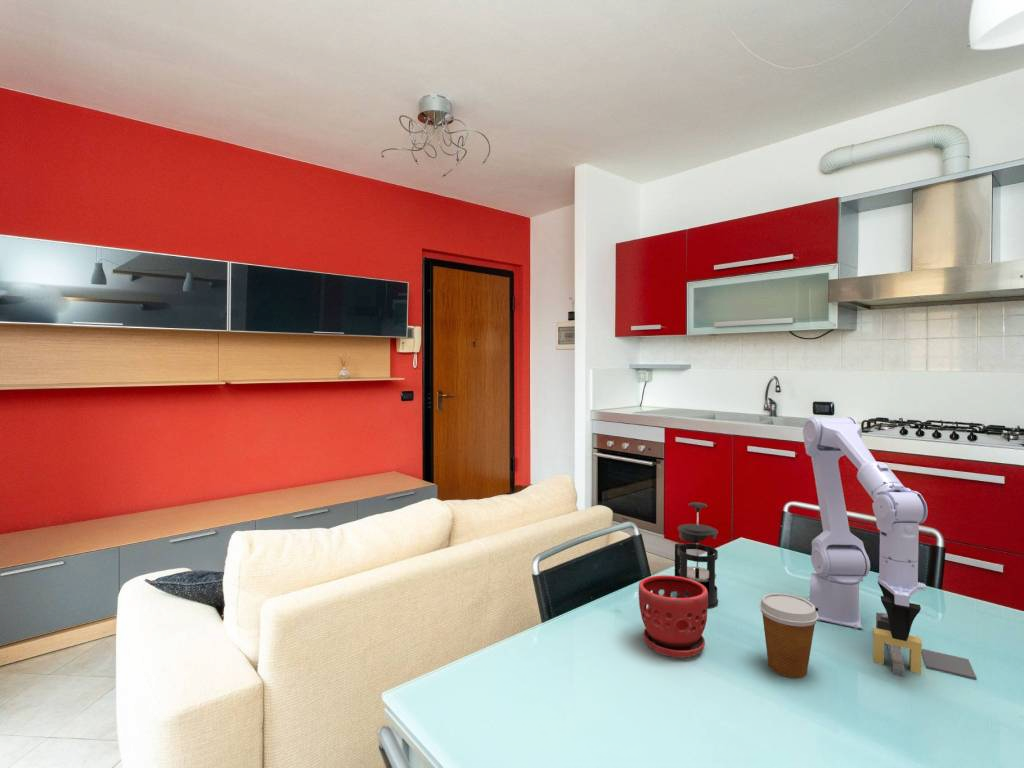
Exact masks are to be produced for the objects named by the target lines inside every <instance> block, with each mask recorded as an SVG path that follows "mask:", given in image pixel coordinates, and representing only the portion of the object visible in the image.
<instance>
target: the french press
mask: <svg viewBox="0 0 1024 768" xmlns="http://www.w3.org/2000/svg"><path fill="white" fill-rule="evenodd" d="M688 506H689V507H692V508H695V513H696V523H683V524H681V525H678V526H677V530H678V531H679V538H680V539H681V540H682V541H684V542H686V543H682V542H678V543H675V544H674V576H678V577H684V578H688V579H691V580H694V581H697V582H699V583H701V584H702V585H703V586H705V587H706V589H707V591H708V608H707V610H708V609H713V608H716V607H717V606H718V604H719V599H718V587H717V585H716V584H715V583H716V578H717V574H716V561H717V560H718V559H719V558H718V557H719V556H718V555H719V554H718V553H719V552H718V550H717V549H715V548H714V547H712V546H709V545H705V544H702V543H701V542H703V541H704V540H706V539H707V538H709V537H710V538H713V539H714V540H716V539H717V535H718V534H719V530H718V529H717V528H715V527H714V526H713V527H712V526H710V525H705V524H700V523H699V519H700V518H699V513H700V512H701V509H705V508H707V507H708V505H707V504H706V503H702V502H699V501H698V502H697V501H696V502H690V503H688ZM687 550H696V555H694V554H688V553H687ZM699 550H700V551H704V552H707V553H706V554H707V555H705V556H703V555H702V556H701V555H699ZM688 561H691V562H695V563H696V566H688ZM699 563H706V568H705V567H700V566H699ZM685 596H687V597H689V596H690V593H689V592H688V591H685ZM675 598H681V596H680V594H679V593H678V592H676V596H675Z"/></svg>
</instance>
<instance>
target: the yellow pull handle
mask: <svg viewBox="0 0 1024 768" xmlns="http://www.w3.org/2000/svg"><path fill="white" fill-rule="evenodd" d="M872 635H873V638H872V639H873V643H872V644H873V645H872V658H873V663H875V664H879V665H885V664H884V662H885V644H886V645H888V644H889V645H894V646H898V647H900V648H903V649H907V650H909V654H908V656H909V658H908V666H909V670H910V672H913V673H916V674H922V659H923V656H922V649H923V643H922V640H921V637H920V636H915V635H910V634H909V636H908V639H907V641H902V640H898V639H893V638H892V635H891V631H887V630H883V629H878V628H876V627H873V633H872Z"/></svg>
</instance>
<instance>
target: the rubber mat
mask: <svg viewBox="0 0 1024 768" xmlns="http://www.w3.org/2000/svg"><path fill="white" fill-rule="evenodd" d="M922 659H923V661H924V665H925V668H926V669H929V670H933V671H937V672H941V673H946V674H951V675H953V676H959V677H963V678H967V679H970V680H975V681H977V679H978V678H977V676H976V673H975V671H974V669H973V666H972V664H971V662H970V660H969V658H965V657H961V656H956V655H951V654H947V653H944V652H943V653H942V652H938V651H934V650H929V649H924V648H922Z"/></svg>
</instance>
